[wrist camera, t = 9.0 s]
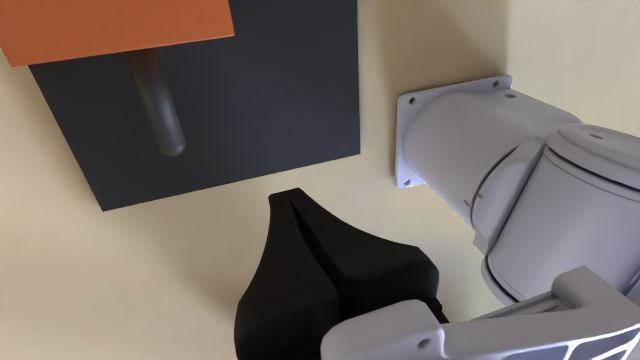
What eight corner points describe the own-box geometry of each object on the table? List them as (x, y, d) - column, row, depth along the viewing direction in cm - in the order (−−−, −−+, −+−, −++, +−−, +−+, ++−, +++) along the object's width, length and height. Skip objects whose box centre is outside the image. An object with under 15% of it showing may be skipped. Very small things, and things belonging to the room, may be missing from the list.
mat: (347, -297, 16) (350, -303, 15) (358, 151, 28) (360, 154, 27) (-165, -321, 12) (-175, -330, 12) (103, 208, 24) (102, 212, 24)
